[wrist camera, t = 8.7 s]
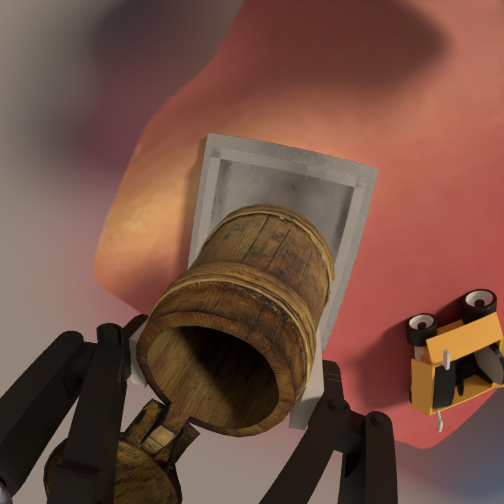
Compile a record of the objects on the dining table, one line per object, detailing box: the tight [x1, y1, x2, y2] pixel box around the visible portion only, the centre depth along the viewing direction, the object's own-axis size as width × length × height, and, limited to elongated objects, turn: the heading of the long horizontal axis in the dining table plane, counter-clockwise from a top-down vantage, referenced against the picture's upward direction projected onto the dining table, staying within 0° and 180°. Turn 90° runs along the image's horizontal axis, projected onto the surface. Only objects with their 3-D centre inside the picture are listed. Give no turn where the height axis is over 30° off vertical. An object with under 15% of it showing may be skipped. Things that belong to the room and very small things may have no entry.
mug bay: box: [188, 133, 378, 351], centre depth 31 cm, size 22×18×4 cm
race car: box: [406, 289, 504, 432], centre depth 28 cm, size 15×15×11 cm
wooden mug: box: [43, 204, 335, 504], centre depth 12 cm, size 9×14×18 cm, turn 143°
